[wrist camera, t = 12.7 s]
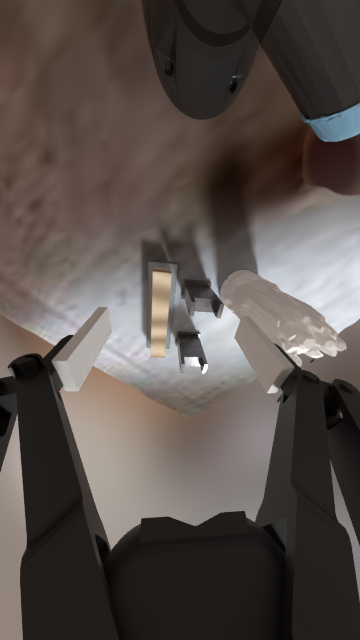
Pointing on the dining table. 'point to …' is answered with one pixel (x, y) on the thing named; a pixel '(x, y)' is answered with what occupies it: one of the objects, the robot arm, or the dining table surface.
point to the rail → (160, 310)
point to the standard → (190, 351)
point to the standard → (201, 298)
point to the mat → (171, 301)
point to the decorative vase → (280, 316)
